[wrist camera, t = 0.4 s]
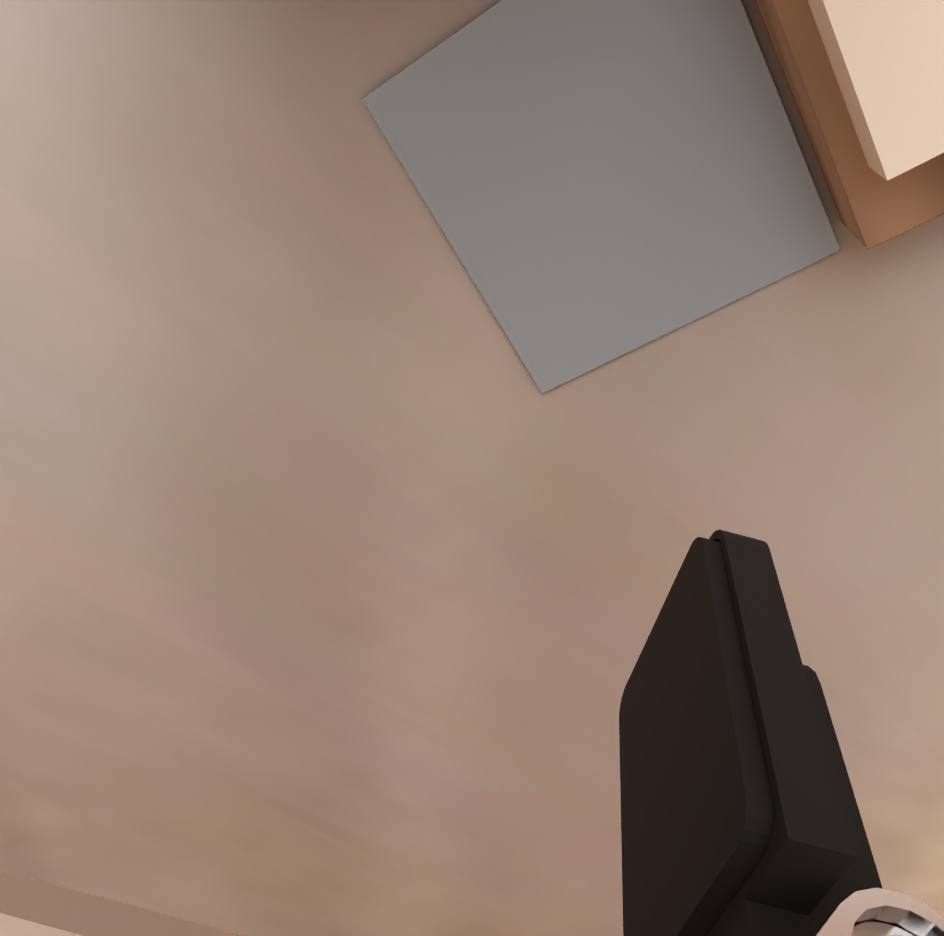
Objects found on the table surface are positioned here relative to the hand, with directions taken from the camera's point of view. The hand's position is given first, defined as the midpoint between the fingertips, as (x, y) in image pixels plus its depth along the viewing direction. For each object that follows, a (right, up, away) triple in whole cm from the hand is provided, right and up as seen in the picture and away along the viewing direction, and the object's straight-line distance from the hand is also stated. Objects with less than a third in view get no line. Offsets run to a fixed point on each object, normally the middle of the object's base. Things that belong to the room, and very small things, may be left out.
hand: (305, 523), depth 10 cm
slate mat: (+8, +14, +25) cm, 30 cm away
